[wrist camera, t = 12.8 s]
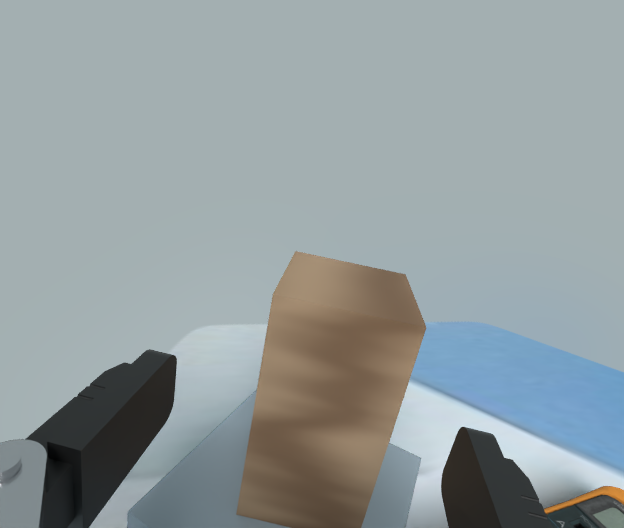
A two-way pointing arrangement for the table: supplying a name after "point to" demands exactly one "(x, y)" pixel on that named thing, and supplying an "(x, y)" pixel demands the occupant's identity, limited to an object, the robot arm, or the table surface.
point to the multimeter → (590, 510)
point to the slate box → (228, 477)
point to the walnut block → (328, 392)
